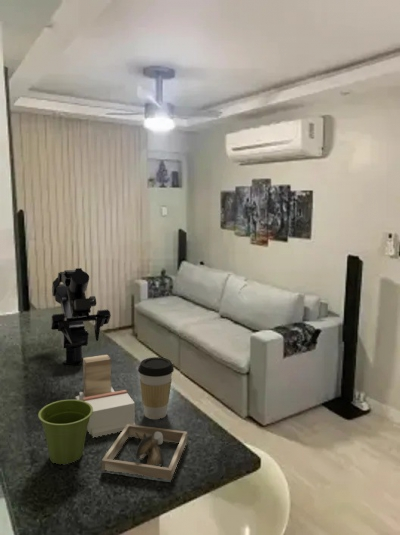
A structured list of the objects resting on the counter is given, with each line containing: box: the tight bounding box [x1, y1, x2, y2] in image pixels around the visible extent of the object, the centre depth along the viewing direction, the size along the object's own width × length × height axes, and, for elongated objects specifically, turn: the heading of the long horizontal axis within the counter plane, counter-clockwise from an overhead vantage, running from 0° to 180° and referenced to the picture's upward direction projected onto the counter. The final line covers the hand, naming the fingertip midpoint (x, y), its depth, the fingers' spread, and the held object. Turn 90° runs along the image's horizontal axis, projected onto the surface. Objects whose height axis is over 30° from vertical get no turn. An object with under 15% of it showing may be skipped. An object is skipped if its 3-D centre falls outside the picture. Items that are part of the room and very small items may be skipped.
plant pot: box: [37, 399, 93, 465], centre depth 96 cm, size 12×12×11 cm
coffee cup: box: [137, 356, 175, 420], centre depth 117 cm, size 10×10×15 cm
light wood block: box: [82, 354, 112, 397], centre depth 123 cm, size 5×7×12 cm, turn 117°
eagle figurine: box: [135, 431, 164, 466], centre depth 96 cm, size 8×7×9 cm
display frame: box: [101, 424, 188, 480], centre depth 98 cm, size 16×16×3 cm
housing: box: [75, 386, 136, 439], centre depth 117 cm, size 22×12×6 cm, turn 27°
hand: (85, 342), depth 135 cm, fingers open, 8 cm apart
